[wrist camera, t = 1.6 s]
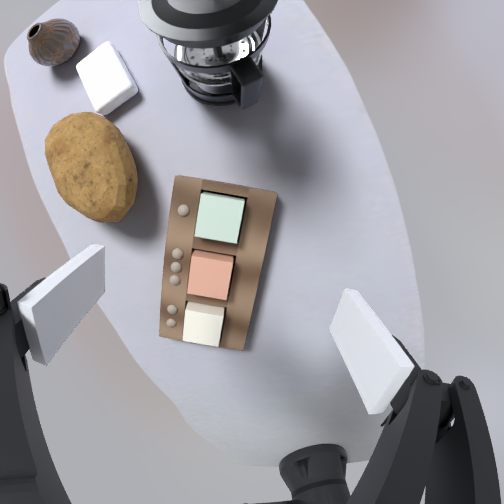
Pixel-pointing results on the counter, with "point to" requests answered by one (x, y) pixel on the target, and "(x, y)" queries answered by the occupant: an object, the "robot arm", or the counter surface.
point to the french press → (213, 44)
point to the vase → (53, 41)
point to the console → (245, 251)
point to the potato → (92, 166)
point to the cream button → (203, 323)
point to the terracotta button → (210, 274)
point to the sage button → (219, 217)
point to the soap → (106, 78)
